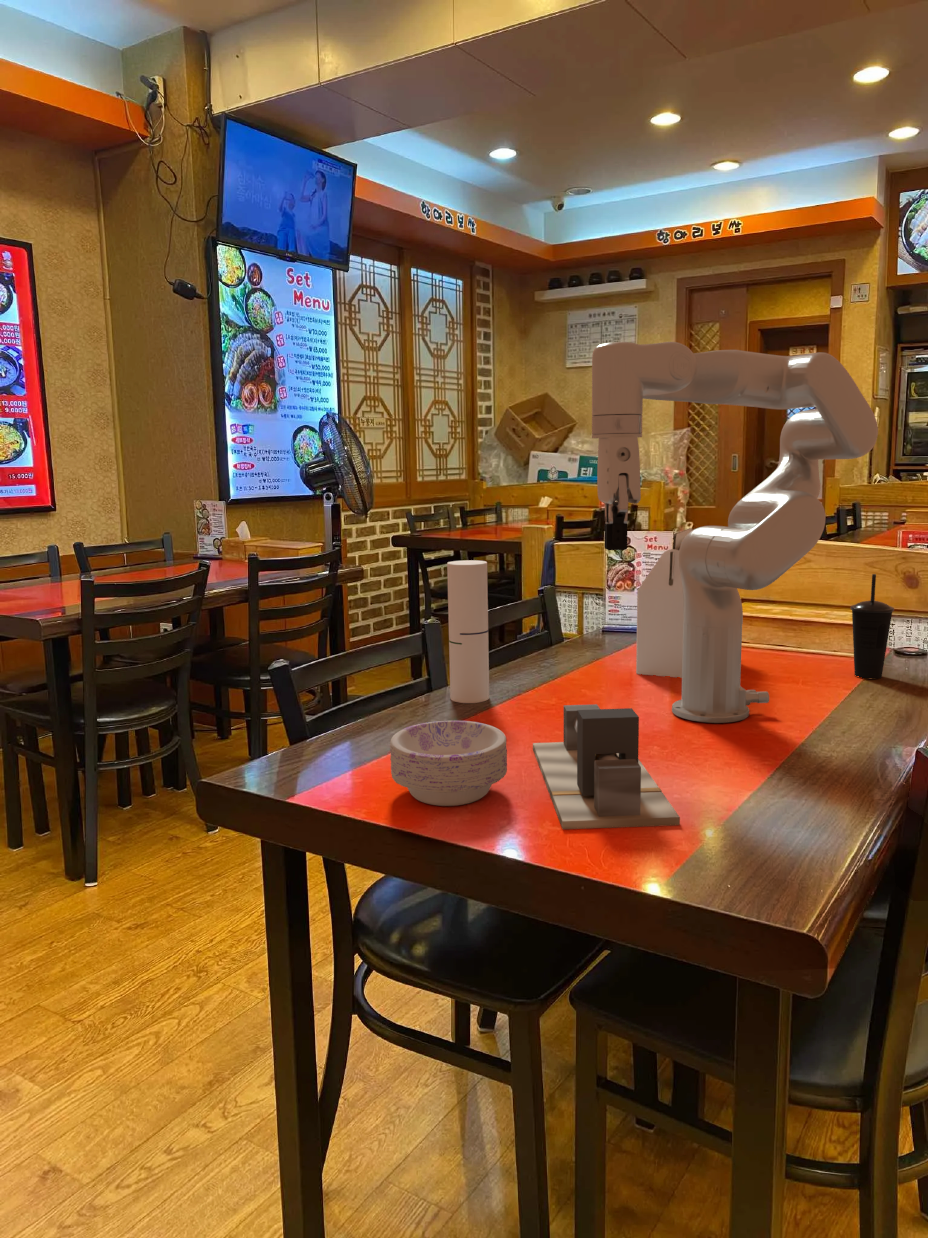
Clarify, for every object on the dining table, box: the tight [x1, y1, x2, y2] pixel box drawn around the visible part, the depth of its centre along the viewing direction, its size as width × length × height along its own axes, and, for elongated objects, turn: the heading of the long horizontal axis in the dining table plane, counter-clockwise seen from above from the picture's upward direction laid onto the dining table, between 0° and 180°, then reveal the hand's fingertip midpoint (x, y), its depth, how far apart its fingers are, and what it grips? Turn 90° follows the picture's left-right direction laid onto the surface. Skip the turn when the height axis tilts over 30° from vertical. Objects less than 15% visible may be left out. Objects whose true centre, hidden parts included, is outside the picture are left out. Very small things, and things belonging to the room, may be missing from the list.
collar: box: [577, 707, 640, 796], centre depth 115 cm, size 4×7×10 cm, turn 92°
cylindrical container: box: [446, 559, 490, 704], centre depth 165 cm, size 7×7×25 cm
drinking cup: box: [850, 573, 895, 679], centre depth 175 cm, size 8×8×20 cm
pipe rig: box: [532, 703, 681, 830], centre depth 122 cm, size 30×14×7 cm, turn 2°
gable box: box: [635, 528, 693, 679], centre depth 187 cm, size 22×13×28 cm, turn 155°
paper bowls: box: [389, 720, 508, 807], centre depth 119 cm, size 15×15×8 cm
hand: (615, 549), depth 140 cm, fingers closed
